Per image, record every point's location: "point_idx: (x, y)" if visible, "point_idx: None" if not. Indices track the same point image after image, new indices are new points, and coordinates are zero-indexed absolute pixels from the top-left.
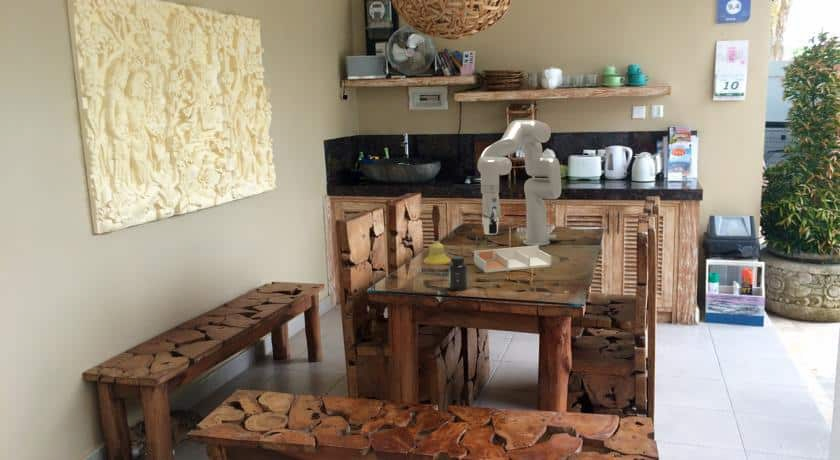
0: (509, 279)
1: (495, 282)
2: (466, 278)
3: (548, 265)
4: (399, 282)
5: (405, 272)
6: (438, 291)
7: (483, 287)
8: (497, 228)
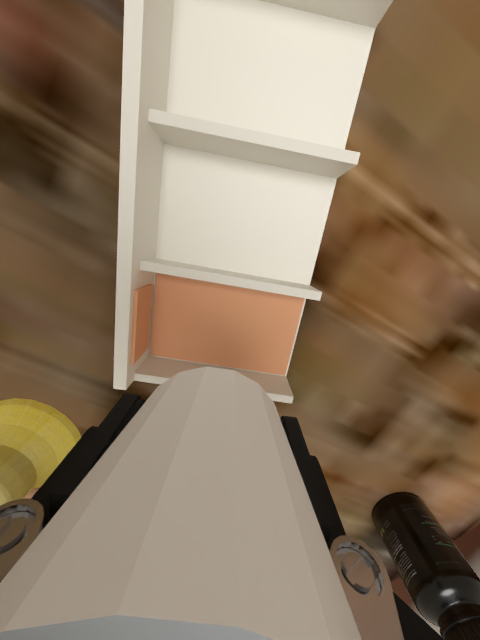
0: (422, 347)
1: (419, 404)
2: (447, 535)
3: (369, 44)
4: None
5: None
6: (386, 554)
7: (439, 456)
8: (274, 427)
